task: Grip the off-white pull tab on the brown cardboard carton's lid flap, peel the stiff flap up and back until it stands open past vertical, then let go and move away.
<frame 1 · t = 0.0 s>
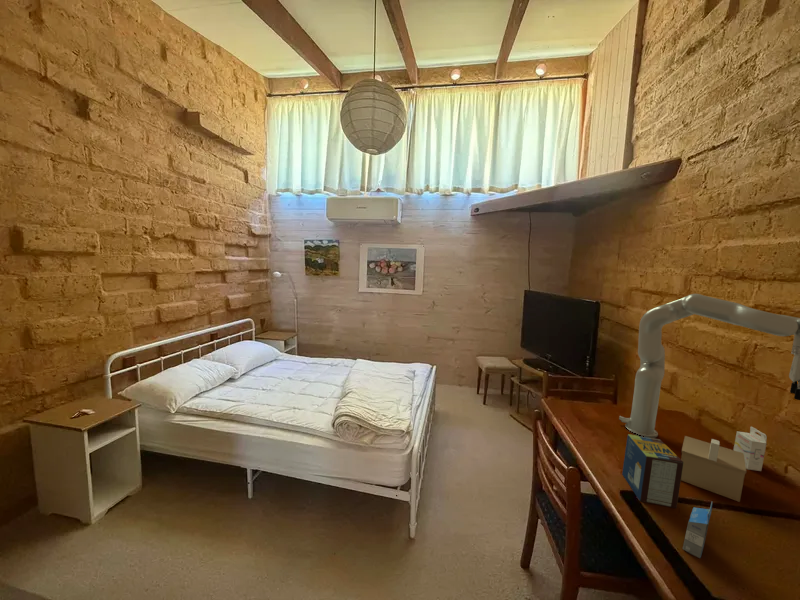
hand: (798, 397, 128), 31 cm above the table, tool pointing down, fingers open, 9 cm apart
ink cartridge box: (745, 465, 138), on the table
carton: (707, 480, 125), on the table
carton flap: (714, 445, 123), point 14 cm above the table, hinge at 0.0°
label tape box: (694, 546, 93), on the table
protein box: (647, 490, 116), on the table
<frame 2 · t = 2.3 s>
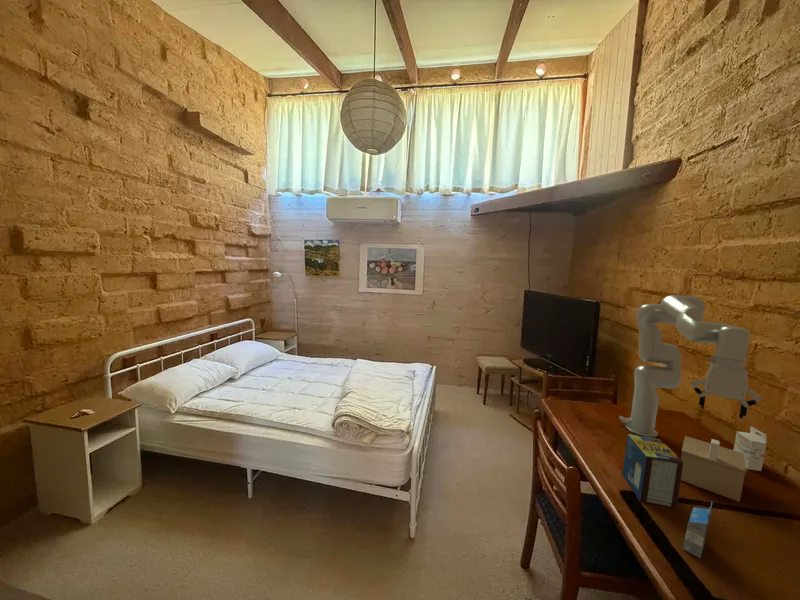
hand: (721, 412, 117), 28 cm above the table, tool pointing down, fingers open, 9 cm apart
nothing on the table moved.
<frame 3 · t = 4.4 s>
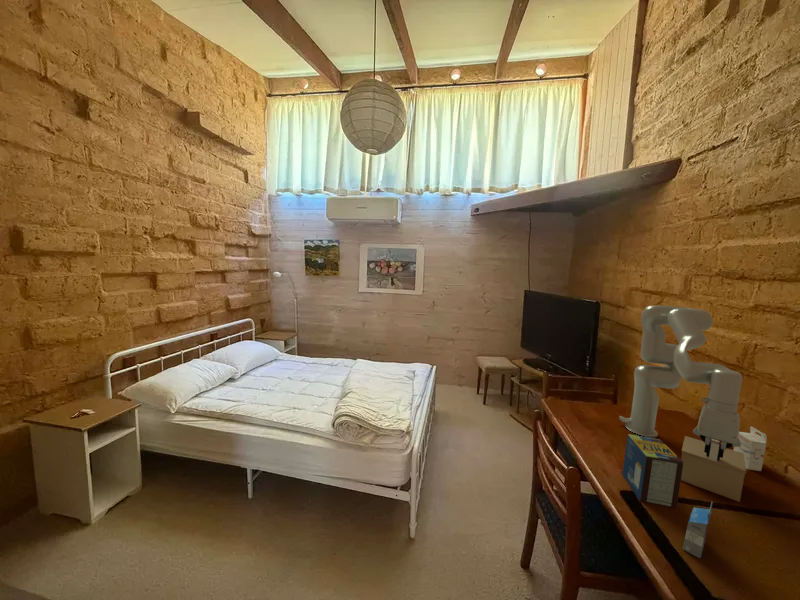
hand: (712, 456, 119), 12 cm above the table, tool pointing down, fingers closed on carton flap, 2 cm apart
carton flap: (714, 445, 123), point 14 cm above the table, hinge at 0.0°, touching gripper
everything else where it was.
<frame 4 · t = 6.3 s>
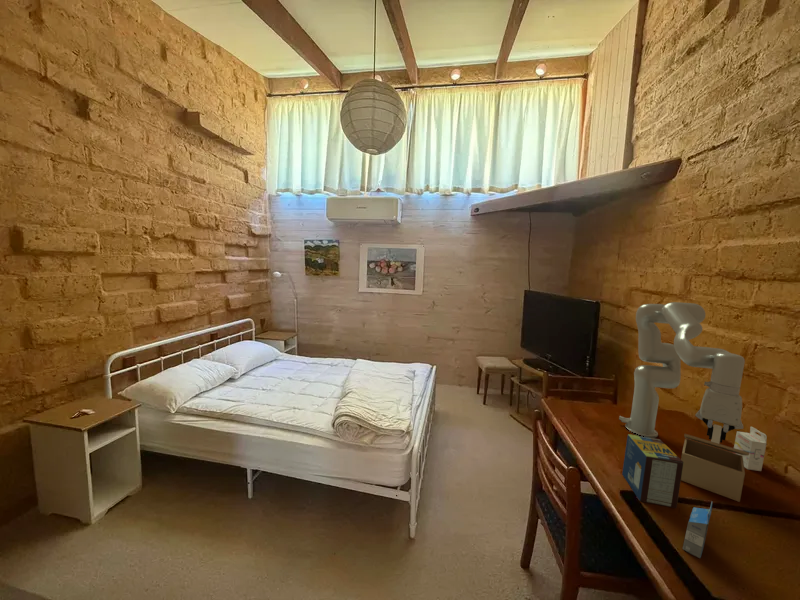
hand: (715, 439, 120), 17 cm above the table, tool pointing down, fingers closed on carton flap, 2 cm apart
carton flap: (715, 436, 124), point 16 cm above the table, hinge at 21.1°, touching gripper
everything else where it was.
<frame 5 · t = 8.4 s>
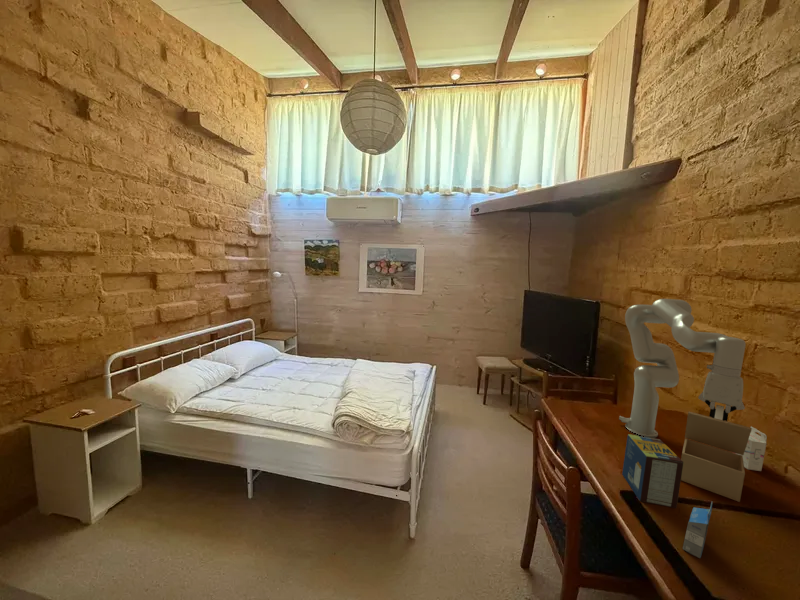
hand: (717, 420, 125), 22 cm above the table, tool pointing down, fingers closed on carton flap, 2 cm apart
carton flap: (716, 426, 127), point 19 cm above the table, hinge at 52.0°, touching gripper
everything else where it was.
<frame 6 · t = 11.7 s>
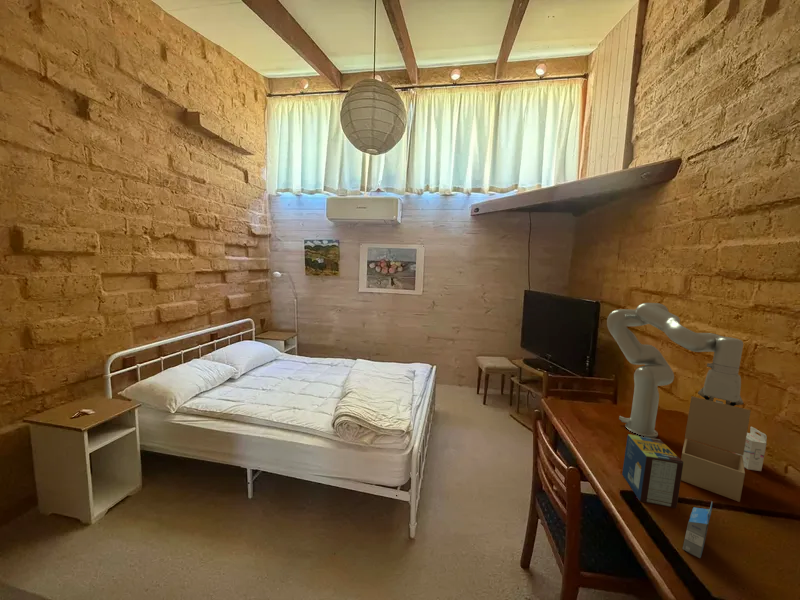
hand: (717, 414, 134), 20 cm above the table, tool pointing down, fingers open, 3 cm apart
carton flap: (716, 423, 132), point 18 cm above the table, hinge at 97.9°
everything else where it was.
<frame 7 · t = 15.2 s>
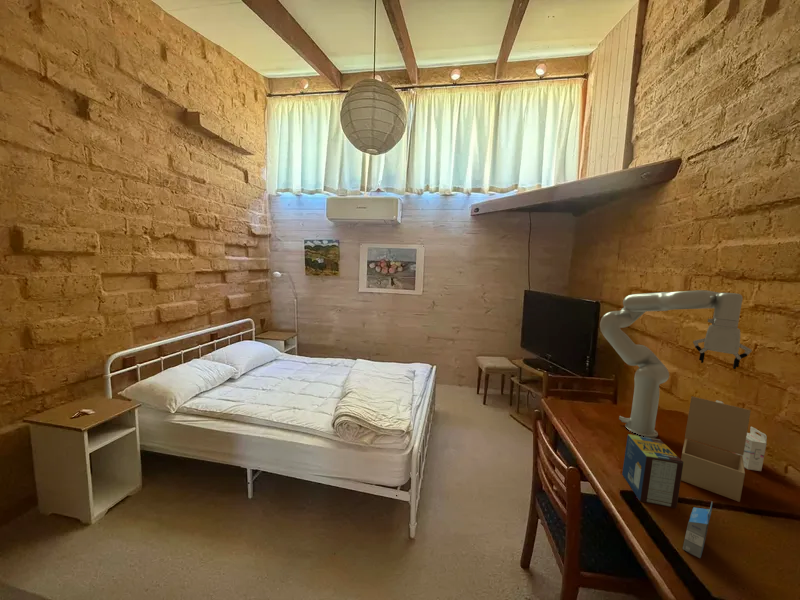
hand: (717, 365, 139), 38 cm above the table, tool pointing down, fingers open, 9 cm apart
nothing on the table moved.
at the end: carton flap at +98° (first picture: +0°); the gripper is holding nothing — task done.
